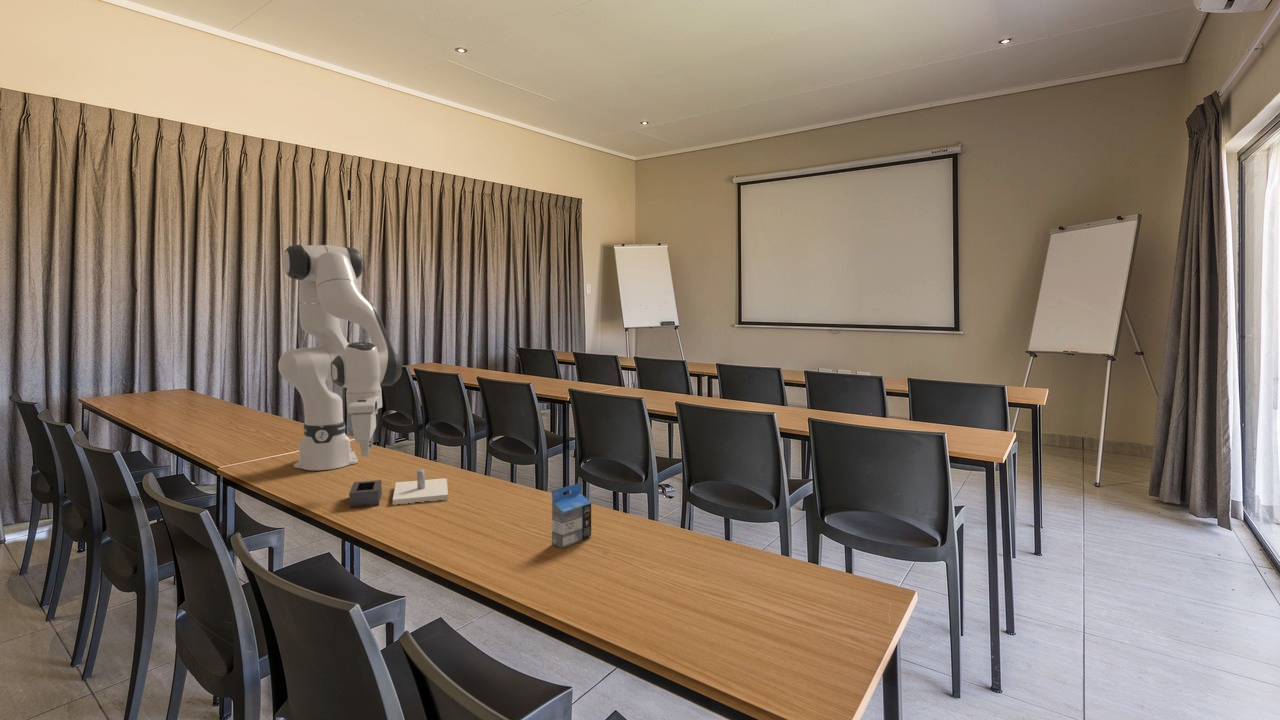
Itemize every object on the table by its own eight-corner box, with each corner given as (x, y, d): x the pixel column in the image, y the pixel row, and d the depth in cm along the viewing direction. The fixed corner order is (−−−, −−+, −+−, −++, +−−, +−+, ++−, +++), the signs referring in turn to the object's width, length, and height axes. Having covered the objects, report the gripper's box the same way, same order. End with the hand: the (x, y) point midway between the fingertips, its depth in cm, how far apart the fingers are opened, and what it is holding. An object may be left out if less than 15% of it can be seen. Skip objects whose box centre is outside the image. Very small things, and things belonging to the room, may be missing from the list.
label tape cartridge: (562, 549, 133) (562, 494, 132) (551, 544, 135) (550, 491, 134) (592, 537, 139) (592, 485, 138) (580, 533, 142) (580, 482, 141)
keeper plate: (396, 487, 175) (395, 465, 175) (446, 483, 180) (446, 461, 179) (392, 505, 160) (392, 481, 160) (448, 499, 165) (447, 476, 164)
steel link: (354, 496, 167) (353, 482, 167) (381, 493, 169) (381, 479, 169) (349, 508, 158) (349, 493, 157) (378, 505, 160) (378, 490, 160)
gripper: (356, 397, 174) (358, 444, 175) (346, 408, 154) (349, 461, 156) (380, 396, 176) (382, 442, 177) (373, 406, 156) (376, 459, 158)
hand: (367, 451), depth 166 cm, fingers open, 8 cm apart
